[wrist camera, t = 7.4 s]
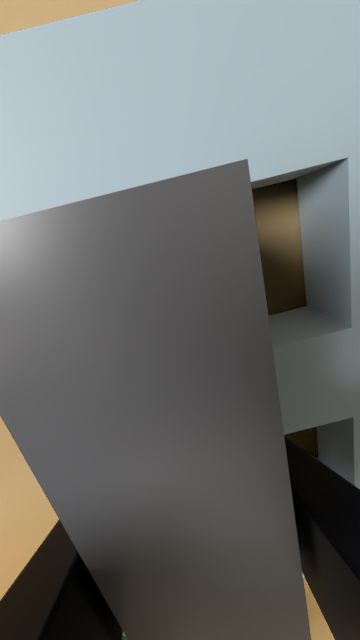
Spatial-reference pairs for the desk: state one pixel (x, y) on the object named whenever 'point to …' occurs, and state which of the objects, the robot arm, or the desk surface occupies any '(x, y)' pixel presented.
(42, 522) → the desk surface
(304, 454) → the robot arm
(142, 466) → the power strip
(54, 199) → the keyhole board
